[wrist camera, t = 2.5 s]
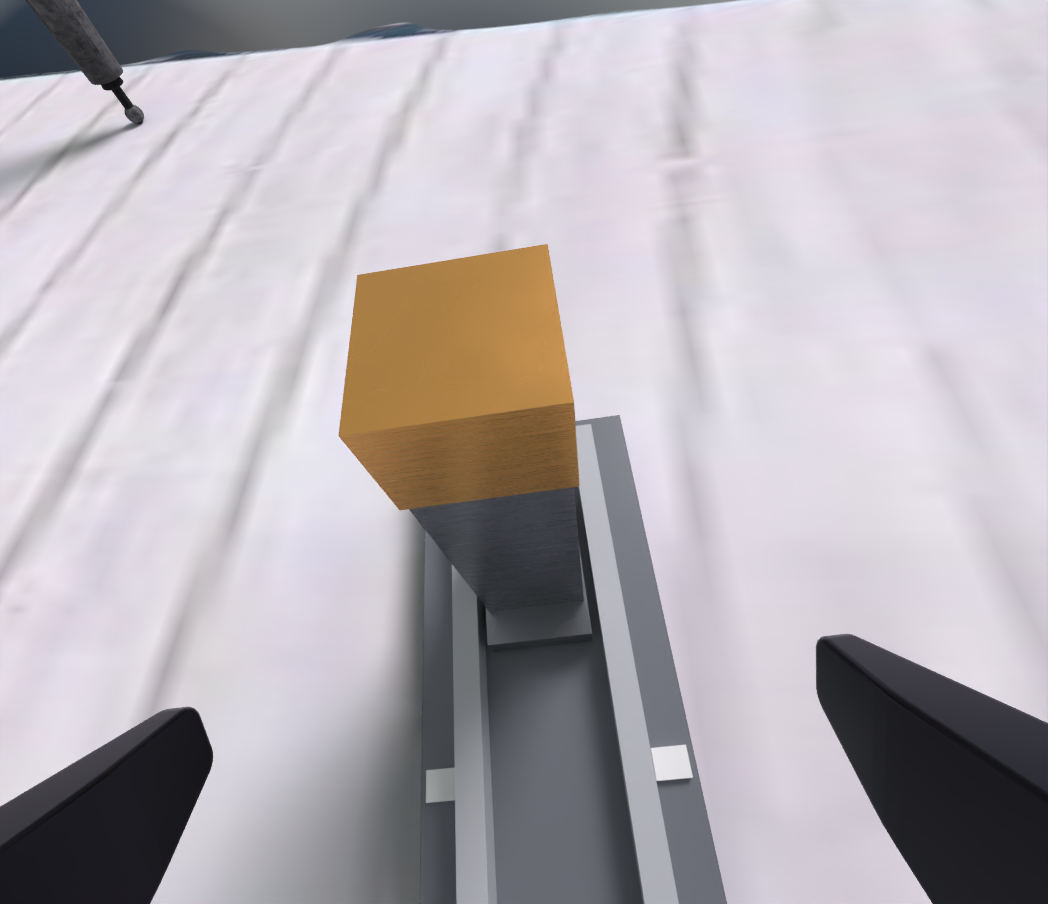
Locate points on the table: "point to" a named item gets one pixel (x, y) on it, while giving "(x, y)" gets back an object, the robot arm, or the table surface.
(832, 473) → the table surface
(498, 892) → the fader track
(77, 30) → the microphone
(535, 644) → the block
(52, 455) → the table surface
